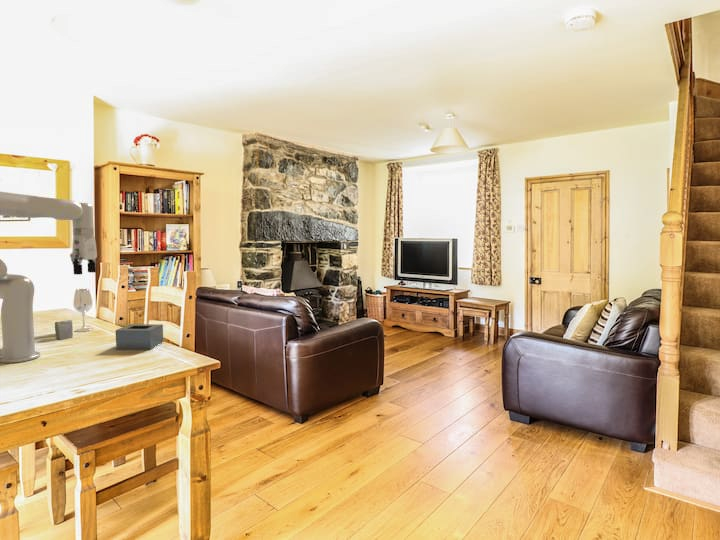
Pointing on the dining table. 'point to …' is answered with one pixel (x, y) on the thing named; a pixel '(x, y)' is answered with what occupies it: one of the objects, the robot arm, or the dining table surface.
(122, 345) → the box
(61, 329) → the grey block
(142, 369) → the dining table surface
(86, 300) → the wineglass
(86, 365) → the dining table surface
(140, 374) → the dining table surface
